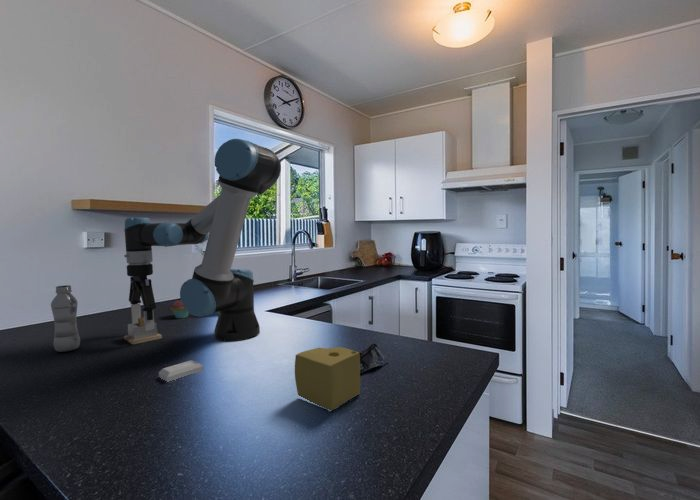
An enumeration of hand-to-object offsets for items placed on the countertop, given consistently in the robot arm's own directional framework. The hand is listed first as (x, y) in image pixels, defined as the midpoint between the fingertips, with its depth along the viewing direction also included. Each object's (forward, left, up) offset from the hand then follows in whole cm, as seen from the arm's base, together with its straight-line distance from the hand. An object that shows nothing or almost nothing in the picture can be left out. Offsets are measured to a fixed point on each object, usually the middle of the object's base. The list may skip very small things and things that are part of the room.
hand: (142, 326), depth 122 cm
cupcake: (+21, -21, -5) cm, 30 cm away
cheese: (-78, -14, -5) cm, 79 cm away
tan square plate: (0, 0, -4) cm, 4 cm away
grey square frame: (0, 0, -3) cm, 3 cm away
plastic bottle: (+4, +20, -5) cm, 21 cm away
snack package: (-72, -32, -5) cm, 79 cm away
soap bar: (-41, +3, -5) cm, 41 cm away
